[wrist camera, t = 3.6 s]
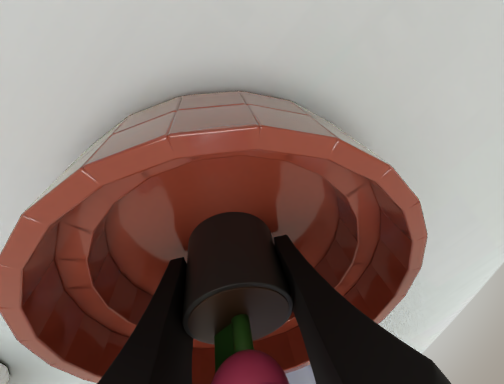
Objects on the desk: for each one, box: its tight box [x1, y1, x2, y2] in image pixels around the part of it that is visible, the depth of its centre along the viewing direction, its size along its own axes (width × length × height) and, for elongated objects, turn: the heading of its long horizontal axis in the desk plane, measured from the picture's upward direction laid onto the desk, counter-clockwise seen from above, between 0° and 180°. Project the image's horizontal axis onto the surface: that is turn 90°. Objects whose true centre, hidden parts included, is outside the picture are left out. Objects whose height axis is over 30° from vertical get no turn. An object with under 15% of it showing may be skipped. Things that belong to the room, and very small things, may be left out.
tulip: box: [182, 212, 293, 384], centre depth 9 cm, size 4×4×9 cm
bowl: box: [0, 91, 427, 384], centre depth 11 cm, size 15×15×4 cm
